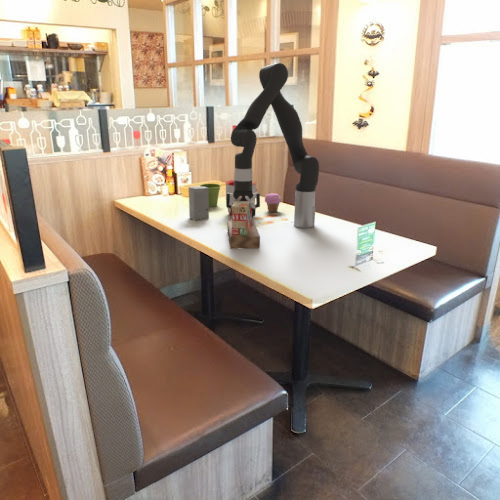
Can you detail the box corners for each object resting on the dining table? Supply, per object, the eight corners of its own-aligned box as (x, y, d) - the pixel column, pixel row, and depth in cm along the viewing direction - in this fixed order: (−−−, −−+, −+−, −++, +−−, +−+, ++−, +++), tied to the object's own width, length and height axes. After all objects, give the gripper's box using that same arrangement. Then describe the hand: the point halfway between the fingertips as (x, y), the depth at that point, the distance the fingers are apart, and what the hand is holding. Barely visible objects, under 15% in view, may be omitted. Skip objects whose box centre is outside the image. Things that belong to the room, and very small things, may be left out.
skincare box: (194, 220, 221) (194, 189, 215) (188, 217, 226) (187, 186, 221) (210, 218, 225) (209, 187, 220) (203, 215, 231) (202, 185, 225)
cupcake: (280, 213, 236) (281, 195, 233) (264, 213, 236) (265, 194, 233) (280, 209, 245) (280, 191, 241) (264, 209, 245) (264, 191, 241)
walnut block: (253, 231, 205) (253, 220, 204) (259, 248, 183) (259, 236, 181) (227, 231, 204) (227, 220, 203) (230, 248, 182) (230, 237, 180)
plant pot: (197, 203, 254) (196, 184, 250) (216, 202, 259) (216, 182, 255) (204, 208, 244) (203, 188, 240) (224, 206, 249) (224, 186, 245)
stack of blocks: (239, 221, 203) (240, 194, 199) (253, 221, 202) (254, 194, 198) (231, 234, 183) (231, 205, 179) (246, 235, 182) (246, 206, 178)
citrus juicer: (264, 215, 232) (265, 177, 225) (236, 220, 222) (236, 180, 216) (246, 209, 244) (247, 172, 237) (219, 213, 234) (219, 175, 228)
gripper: (259, 177, 189) (258, 214, 194) (225, 177, 188) (225, 215, 193) (261, 180, 182) (260, 219, 187) (226, 180, 181) (226, 219, 186)
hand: (242, 217), depth 190 cm, fingers open, 8 cm apart
